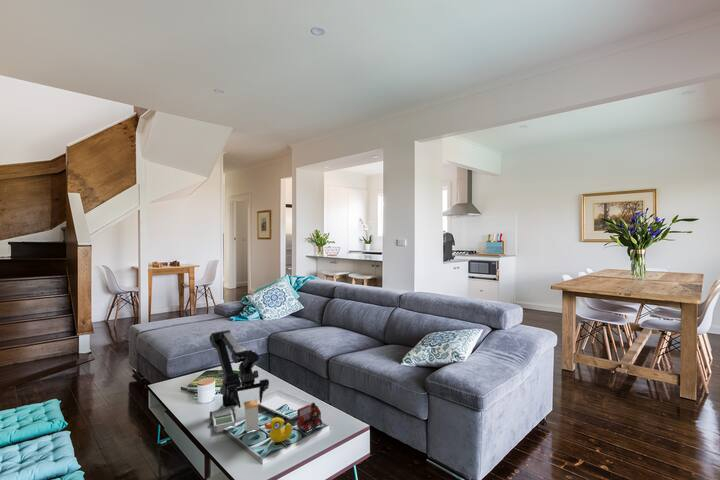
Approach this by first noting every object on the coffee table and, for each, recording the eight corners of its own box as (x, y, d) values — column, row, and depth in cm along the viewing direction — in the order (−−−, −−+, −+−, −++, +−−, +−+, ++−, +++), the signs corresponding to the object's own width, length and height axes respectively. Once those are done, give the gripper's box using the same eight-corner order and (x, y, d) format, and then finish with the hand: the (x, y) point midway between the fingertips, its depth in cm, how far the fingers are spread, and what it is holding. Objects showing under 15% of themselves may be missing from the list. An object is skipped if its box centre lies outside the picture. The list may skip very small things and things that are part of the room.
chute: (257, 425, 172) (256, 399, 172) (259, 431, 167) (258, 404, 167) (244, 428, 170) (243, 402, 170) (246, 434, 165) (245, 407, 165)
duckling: (266, 448, 154) (265, 423, 154) (263, 441, 159) (263, 418, 159) (293, 441, 159) (292, 417, 159) (290, 435, 164) (289, 412, 163)
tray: (290, 424, 173) (289, 417, 173) (250, 406, 193) (250, 399, 193) (317, 411, 186) (316, 404, 186) (277, 395, 206) (277, 388, 206)
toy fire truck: (325, 425, 172) (324, 402, 171) (303, 435, 163) (302, 412, 163) (315, 420, 176) (315, 398, 176) (294, 430, 168) (293, 407, 168)
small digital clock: (233, 412, 186) (233, 405, 186) (237, 427, 171) (237, 420, 171) (209, 417, 182) (209, 410, 182) (211, 433, 166) (211, 426, 166)
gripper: (226, 368, 172) (229, 401, 162) (267, 361, 180) (273, 393, 170) (225, 380, 179) (228, 412, 169) (265, 373, 187) (270, 403, 177)
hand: (250, 405), depth 171 cm, fingers open, 9 cm apart
